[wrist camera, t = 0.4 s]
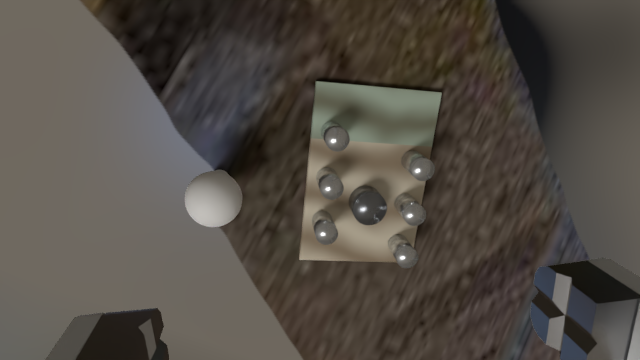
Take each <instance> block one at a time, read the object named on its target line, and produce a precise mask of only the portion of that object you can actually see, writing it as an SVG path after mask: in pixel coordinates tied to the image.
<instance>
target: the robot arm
mask: <svg viewBox="0 0 640 360" xmlns="http://www.w3.org/2000/svg"><path fill="white" fill-rule="evenodd" d="M534 285H535V287H536V288H537V290H538V291H539V292H538V294H537V295H536V296H535V297H534V299H533V300H532V301H531V311H530V316H531V320H532V324H533V327H534V329H535V331H536V333H537V334H538V336H539V337H540V338H541V339H542V341H543V342H544V343H545V344H546V345H549V346H551V347H553V348H555V349H557V350H559V351H560V360H640V277H639V276H637V275H636V274H634V273H632V272H631V271H629V270H628V269H626V268H624V267H623V266H621V265H619V264H618V263H616V262H614V261H613V260H611V259H606V258H598V259H591V260H584V261H579V262H572V263H564V264H557V265H550V266H542V267H539V268H538V270H537V271H536V273H535V278H534ZM163 327H164V326H163V321H162V317H161V312H160V311H159V310H158V308H153V309H142V310H131V311H120V312H108V313H97V314H89V315H81V316H78V317H75V318H74V319H73V320H72V322H71V323H70V325H69V326H68V327H67V329H66V330H65V332H64V333H63V335H62V336H61V338H60V339H59V341H58V342H57V344H56V345H55V346H54V348H53V349H52V351H51V352H50V354H49V355H48V357H47V358H46V360H169V354H168V348H167V345H166V344H165V343H164V342H163V341H162V340H160V336H161V333H162V330H163Z"/></svg>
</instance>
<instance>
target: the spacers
mask: <svg viewBox="0 0 640 360" xmlns="http://www.w3.org/2000/svg"><path fill="white" fill-rule="evenodd" d="M321 137H322V138H323V140H324V142H325V143H326V145H327V146H328V148H329V149H331V150H332V151H336V152H338V151H342V150H344V149H345V148H346V147H347V146H348V144H349V141H350V137H349V134H348V132H347V131H346V130H345V129H344V128H343V127H342V126H341V125H340V124H339V123H338V122H336V121H328V122H326V123H325V124H324V125H323V126H322V128H321ZM401 164H402V166H403V168H404V169H405V170H407V171H408V172H409V173H410V174H411V175H412V176H413V177H414V178H416V179H417V180H419V181H426V180H428V179H430V178H431V177H432V176H433V174H434V171H435V166H434V164H433V162H432V161H430V160H429V159H428V158H426V157H425V156H423V155H422V154H420V153H419V152H418V151H416V150H409V151H407V152H405V153H404V154H403V156H402V158H401ZM316 181H317V184H318V186H319V189H320V191H321V194H322V195H323V197H325V198H326V199H329V200H334V199H337V198H339V197H340V196H341V195H342V193H343V190H344V186H343V183H342V182H341V180H340V178H339V176H338V175H337V173H336V171H335V170H334V169H332V168H330V167H324V168H322V169H320V170H319V171H318V172H317V174H316ZM394 207H395V209H396V210H397V211H398V213H399V214H400V215H401V216H402V217H403V219H404V220H405V221H406V222H407V224H409V225H411V226H418V225H420V224H421V223H423V222H424V220H425V218H426V211H425V209H424V208H423V207H422V206H421V205H420V204H419V203H418V202H417V201H416V200H415V199H414V198H413V197H412V196H411V195H410V194H407V193H403V194H400V195H399V196H397V197H396V199H395V201H394ZM312 225H313V229H314V232H315V236H316V239H317V241H318V242H319V243H321V244H324V245H329V244H332V243H333V242H335V241H336V239H337V237H338V231H337V228H336V226H335V223H334V221H333V218H332V216H331V214H330V213H329V212H327V211H324V210H321V211H318V212H316V213H315V214H314V215H313V217H312ZM388 248H389V249H390V251H391V253H392V254H393V256H394V257H395V259H396V261H397V262H398V264H399V265H400V266H401V267H403V268H410V267H412V266H414V265H415V264H416V263H417V261H418V254H417V252H416V251H415V249H414V248H413V247H412V245H411V244H410V243H409V241H408V240H407V239H406V237H405V236H404V235H402V234H395V235H393V236H391V237H390V238H389V240H388Z"/></svg>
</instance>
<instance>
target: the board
mask: <svg viewBox="0 0 640 360" xmlns="http://www.w3.org/2000/svg"><path fill="white" fill-rule="evenodd" d="M441 95H442V93H441V92H433V91H422V90H411V89H401V88H390V87H379V86H368V85H357V84H346V83H335V82H324V81H316V83H315V94H314V104H313V115H312V125H311V136H310V147H309V157H308V168H307V178H306V189H305V199H304V210H303V221H302V231H301V242H300V252H299V259H300V260H329V261H369V262H397V261H396V259H395V257H394V256H393V254H392V253H391V251H390V249H389V248H388V240H389V238H390V237H391V236H393V235H395V234H402V235H404V236H405V237H406V239H407V240H408V241H409V243H410V244H411V245H412V247H413V248H414V243H415V237H416V232H417V226H411V225H409V224H407V222H406V221H405V220H404V219H403V217H402V216H401V215H400V214H399V213H398V211H397V210H396V209H395V207H394V201H395V199H396V197H397V196H399V195H400V194H403V193H407V194H410V195H411V196H412V197H413V198H414V199H415V200H416V201H417V202H418V203H419V204H420V205H421V204H422V199H423V193H424V188H425V182H426V181H419V180H417V179H416V178H414V177H413V176H412V175H411V174H410V173H409V172H408V171H407V170H405V169H404V168H403V166H402V164H401V158H402V156H403V154H404V153H405V152H407V151H409V150H416V151H418V152H419V153H420V154H422V155H423V156H425V157H426V158H428V159H429V160H430V155H431V150H432V144H433V139H434V133H435V128H436V122H437V117H438V111H439V106H440V100H441ZM328 121H336V122H338V123H339V124H340V125H341V126H342V127H343V128H344V129H345V130H346V131H347V132H348V134H349V137H350V141H349V144H348V146H347V147H346V148H345V149H344V150H342V151H338V152H336V151H332V150H331V149H329V148H328V146H327V145H326V143H325V142H324V140H323V138H322V137H321V128H322V126H323V125H324V124H325V123H326V122H328ZM324 167H330V168H332V169H334V170H335V171H336V173H337V175H338V176H339V178H340V180H341V182H342V183H343V186H344V190H343V193H342V195H341V196H340V197H339V198H337V199H334V200H329V199H326V198H325V197H323V195H322V194H321V191H320V189H319V186H318V184H317V181H316V174H317V172H318V171H319V170H320V169H322V168H324ZM365 185H367V186H372V187H374V188H375V189H377V191H378V192H379V193H380V194H381V196H382V197H383V198H384V200H385V201H386V204H387V212H386V215H385V216H384V218H383V219H382V220H381V221H380V222H378V223H377V224H374V225H363V224H361V223H359V222H358V221H357V220H356V218H355V217H354V215H353V213H352V211H351V209H350V207H349V197H350V195H351V193H352V192H353V191H354V190H355V189H356V188H358V187H360V186H365ZM321 210H324V211H327V212H329V213H330V214H331V216H332V218H333V221H334V223H335V226H336V228H337V231H338V237H337V239H336V241H335V242H333V243H332V244H329V245H324V244H321V243H319V242H318V241H317V239H316V236H315V232H314V229H313V225H312V217H313V215H314V214H315V213H316V212H318V211H321Z"/></svg>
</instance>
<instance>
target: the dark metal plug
mask: <svg viewBox="0 0 640 360" xmlns="http://www.w3.org/2000/svg"><path fill="white" fill-rule="evenodd" d="M349 207H350V209H351V211H352V213H353V215H354V217H355V218H356V220H357V221H358V222H359V223H361V224H363V225H374V224H377V223H378V222H380V221H381V220H382V219H383V218H384V216H385V215H386V212H387V204H386V201H385V200H384V198H383V197H382V196H381V194H380V193H379V192H378V191H377V189H375V188H374V187H372V186H367V185H365V186H360V187H358V188H356V189H355V190H354V191H353V192H352V193H351V195H350V197H349Z"/></svg>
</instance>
